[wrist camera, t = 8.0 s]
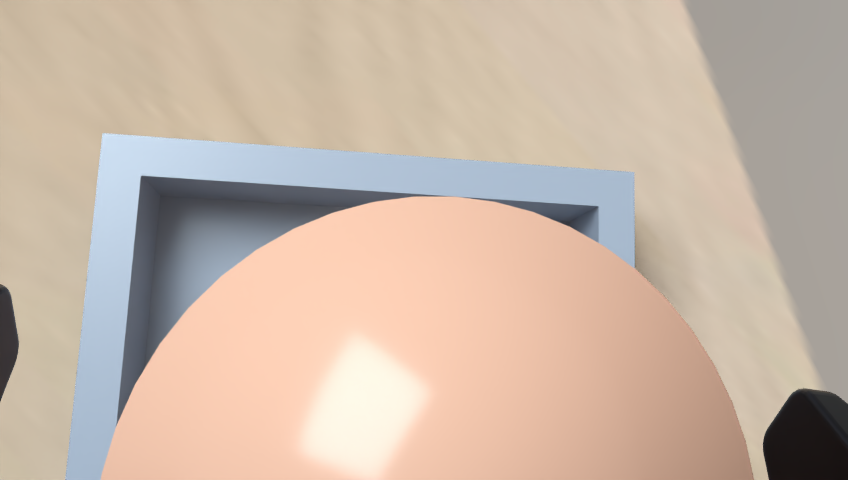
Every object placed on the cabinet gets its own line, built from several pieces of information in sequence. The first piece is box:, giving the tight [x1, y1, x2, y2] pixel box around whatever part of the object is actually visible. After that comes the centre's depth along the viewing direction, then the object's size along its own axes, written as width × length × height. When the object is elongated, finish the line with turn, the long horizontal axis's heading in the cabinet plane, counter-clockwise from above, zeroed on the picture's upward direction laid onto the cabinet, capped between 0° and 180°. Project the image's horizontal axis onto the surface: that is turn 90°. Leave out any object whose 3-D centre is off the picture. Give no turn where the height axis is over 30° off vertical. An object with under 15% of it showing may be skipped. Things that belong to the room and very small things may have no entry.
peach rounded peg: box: [101, 197, 754, 480], centre depth 11 cm, size 5×5×11 cm
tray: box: [65, 133, 635, 480], centre depth 16 cm, size 11×11×2 cm
